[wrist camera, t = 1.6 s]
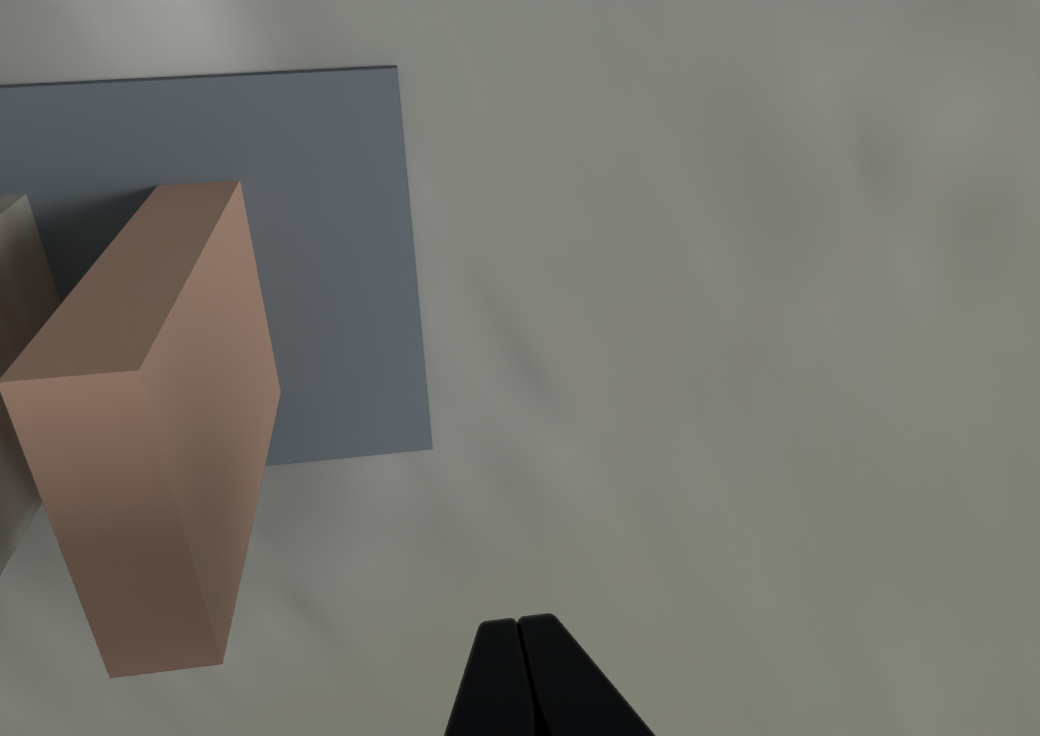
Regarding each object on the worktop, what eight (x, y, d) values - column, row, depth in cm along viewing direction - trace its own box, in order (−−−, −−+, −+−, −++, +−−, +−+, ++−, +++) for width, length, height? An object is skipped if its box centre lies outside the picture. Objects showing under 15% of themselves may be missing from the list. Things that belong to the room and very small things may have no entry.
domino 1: (239, 180, 17) (139, 370, 10) (280, 392, 19) (222, 663, 12) (157, 185, 17) (-4, 382, 10) (209, 399, 19) (109, 678, 12)
